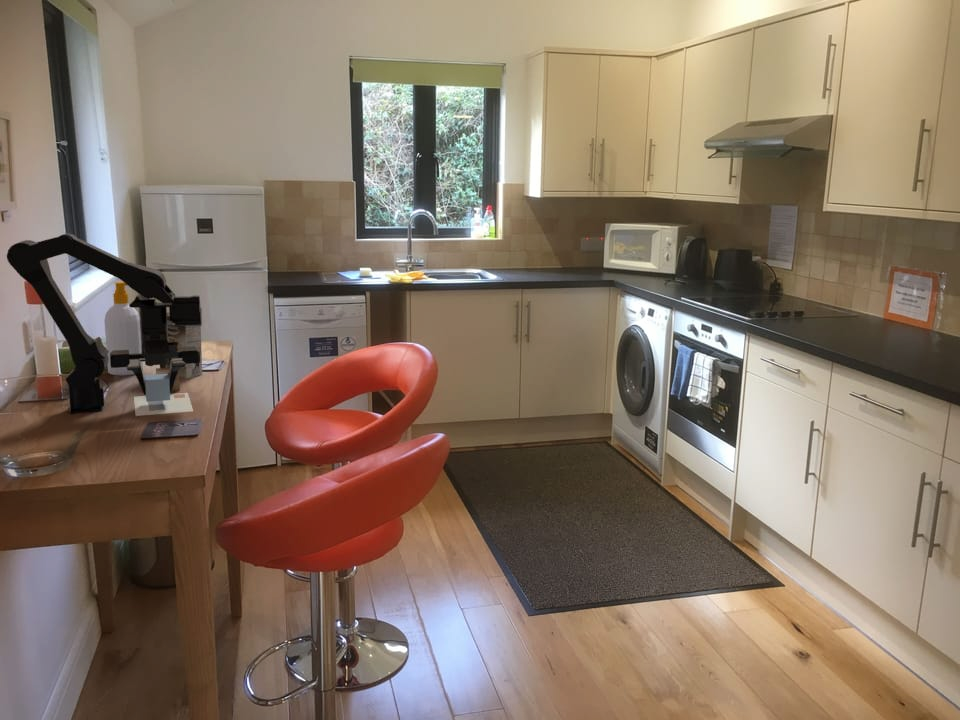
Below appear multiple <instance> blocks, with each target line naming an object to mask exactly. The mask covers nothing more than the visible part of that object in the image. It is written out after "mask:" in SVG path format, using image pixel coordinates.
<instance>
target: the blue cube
mask: <svg viewBox="0 0 960 720" xmlns="http://www.w3.org/2000/svg"><path fill="white" fill-rule="evenodd" d="M143 377H144V383H145V388H146V395H145V396H146V402H151V401H164V400H170V394H171V393H170V386H169V376H168V374H156V373H155V374H143Z"/></svg>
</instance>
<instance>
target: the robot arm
mask: <svg viewBox="0 0 960 720" xmlns="http://www.w3.org/2000/svg"><path fill="white" fill-rule="evenodd" d="M60 255H68V256H71V257H73V258H75V259H77V260H79V261H81V262H84V264H87V265H89V266H92V267H94V268H96V269H98V270H101V271H102V272H104V273H106V274H109V275H110V276H113V277H115V278H117V279H119V281H121V282H124V283H126V284H127V286H128V287H129V288H130V289H132V290H133V291H135V292H136V293H138V294H139V295H136V296H135V298H134V299H133V301H130V304H129V307H131V308H134V309H135V308H138V314H139V317H140V333H141V351H142V353H137V354H129V350H114V351H112V352H111V353H110V364H111V368H120V367H127V370H132V371H133V373H134V374H133V375H134V376H135V378H136V379H137V380H138V384H139V386H140V389H141V392H142V393H143V396H146V388H145V377H144V374H143V371H142V368H141V364H140V362H143V363H144V364H145V366H146V367H153V366H160V365H167V364H169V360H170V372H169V386H170V394H172V392H173V391H172V388H173V385H174V382H175V378H176V376H177V373H178V371H179V370H180V368H181V367H185V363H186V364H190V363H200V352H199V350H198V348H197V347H195V346H194V347H180V351H177V342H168V326H167V313H169V315H170V322H173V323H175V326H201V327H202V325H203V311H202V308H201V297H200V295H190V296H188V295H187V296H185V295H184V296H183V295H182V296H177V295H176V294H175V292H174V291H173V290H172V288H170V287H169V286H168V284H167V279H166V277H165V274H164V273H163V272H162V271H160V270H158V269H155V268H152V267H149V266H145V265H142V264H138V263H132V262H130V261H127V260H124V259H122V258H120V257H118V256H116V255H114V254H112V253H110V252H108V251H106V250H103V249H102V248H99V247H97V246H95V245H93V244H90V243H89V242H87V241H85V240H83V239H81V238H78V237H77V236H76V235H75V234H73V233H64V234H61V235H58V236H55V237H52V238H48V239H44V240H40V241H35V240H27V239H25V240H21V241H19V242H16V243H14V244H12V245H11V246H10V247H9V249H8V250H7V253H6V261H7V262H8V264H9V265H10V267H12V268H13V270H14V271H16V272H17V274H18V275H19V276H20V277H21V278H22V279H23V280H25V281H26V282H27V283H28V284H29V285H30V286H31V287H32V288H33V289H34V290H35V292H36V294H37V296H38V298H39V300H40V301H41V302H42V304H43V305H44V307H45V309H46V310H47V312H48V313H49V315H50V316H51V318H52V320H53V322H54V323H55V325H56V326H57V328H58V330H59V331H60V333H61V334H62V336H63V337H64V339H65V341H66V342H67V344H68V348H69V352H70V356H71V357H70V358H71V360H72V362H73V365H74V368H73V369H72V370H71V371H70V372H69V373H68V375H67V376H66V378H65V381H66V383H67V386H68V397H69V398H68V399H69V414H80V413H82V414H83V413H90V412H93V413H94V412H102V411H103V407H105V395H104V394H105V393H104V392H105V391H104V386H103V385H101V379H98V378H99V377H100V376H102V375H103V374H104V371H105V370H106V368H108V362H109V357H108V355H107V354H108V353H109V351H108V350H107V349H106V346H104V344H103V341H102V339H101V337H100V336H97V337H96V338H94V339H93V337H92V336H90V335H89V334H88V333H87V332H86V330H85V329H84V327H83V325H82V324H81V322H80V320H79V319H78V317H77V316H76V314H75V312H74V311H73V309H72V307H71V306H70V304H69V302H68V301H67V299H66V298H65V296H64V294H63V293H62V290H61V289H60V288H59V286H58V284H57V282H56V281H55V280H54V278H53V276H52V272H51V268H50V264H49V261H48V259H51V258H54V257H58V256H60ZM140 296H142V297H143V298H142V297H140ZM157 301H158V302H157ZM167 308H168V309H167ZM167 310H169V311H168V312H167Z"/></svg>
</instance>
